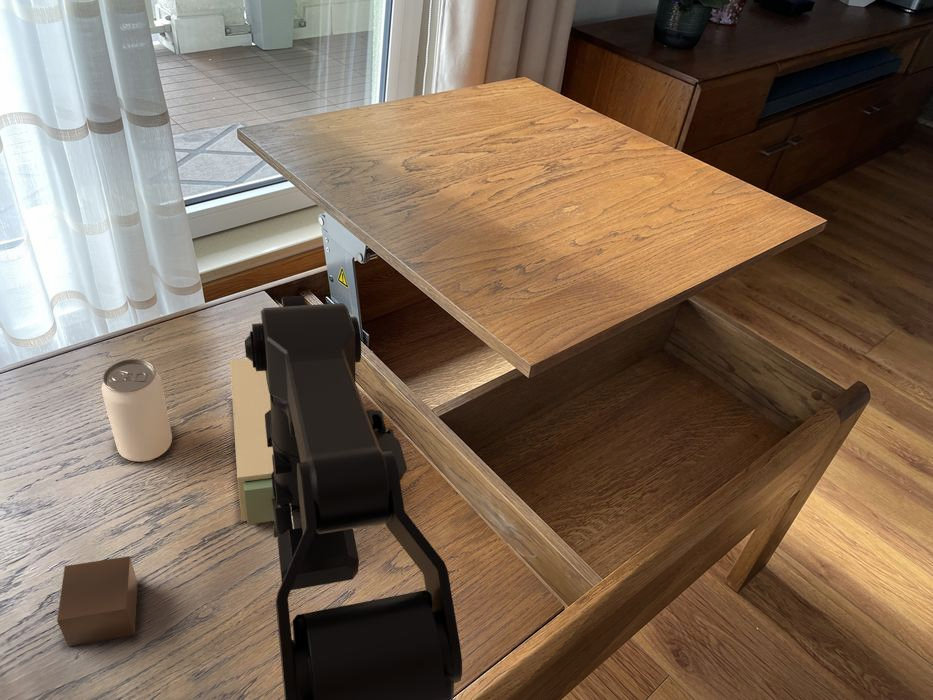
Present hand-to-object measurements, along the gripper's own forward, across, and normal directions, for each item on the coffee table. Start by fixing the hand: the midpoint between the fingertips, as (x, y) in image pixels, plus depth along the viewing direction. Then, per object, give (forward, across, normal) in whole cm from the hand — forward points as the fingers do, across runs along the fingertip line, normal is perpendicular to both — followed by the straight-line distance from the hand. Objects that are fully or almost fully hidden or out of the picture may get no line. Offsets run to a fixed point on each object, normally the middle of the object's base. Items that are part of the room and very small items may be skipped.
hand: (308, 541), depth 69 cm
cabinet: (+12, +22, 0) cm, 25 cm away
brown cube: (+12, +3, +20) cm, 24 cm away
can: (+12, +26, +17) cm, 34 cm away
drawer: (+11, +18, 0) cm, 21 cm away
